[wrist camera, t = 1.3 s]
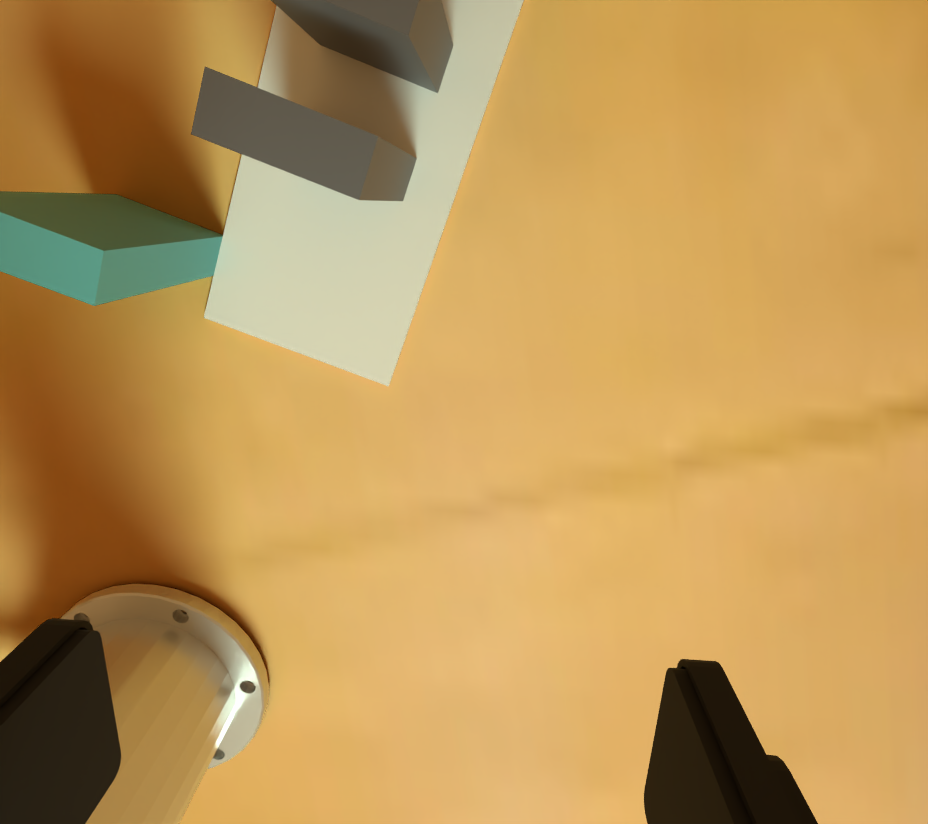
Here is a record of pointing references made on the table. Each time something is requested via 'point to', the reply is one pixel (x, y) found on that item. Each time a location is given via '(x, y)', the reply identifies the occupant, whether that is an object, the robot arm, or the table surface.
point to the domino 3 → (300, 140)
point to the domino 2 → (381, 34)
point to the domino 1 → (100, 245)
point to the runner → (345, 218)
